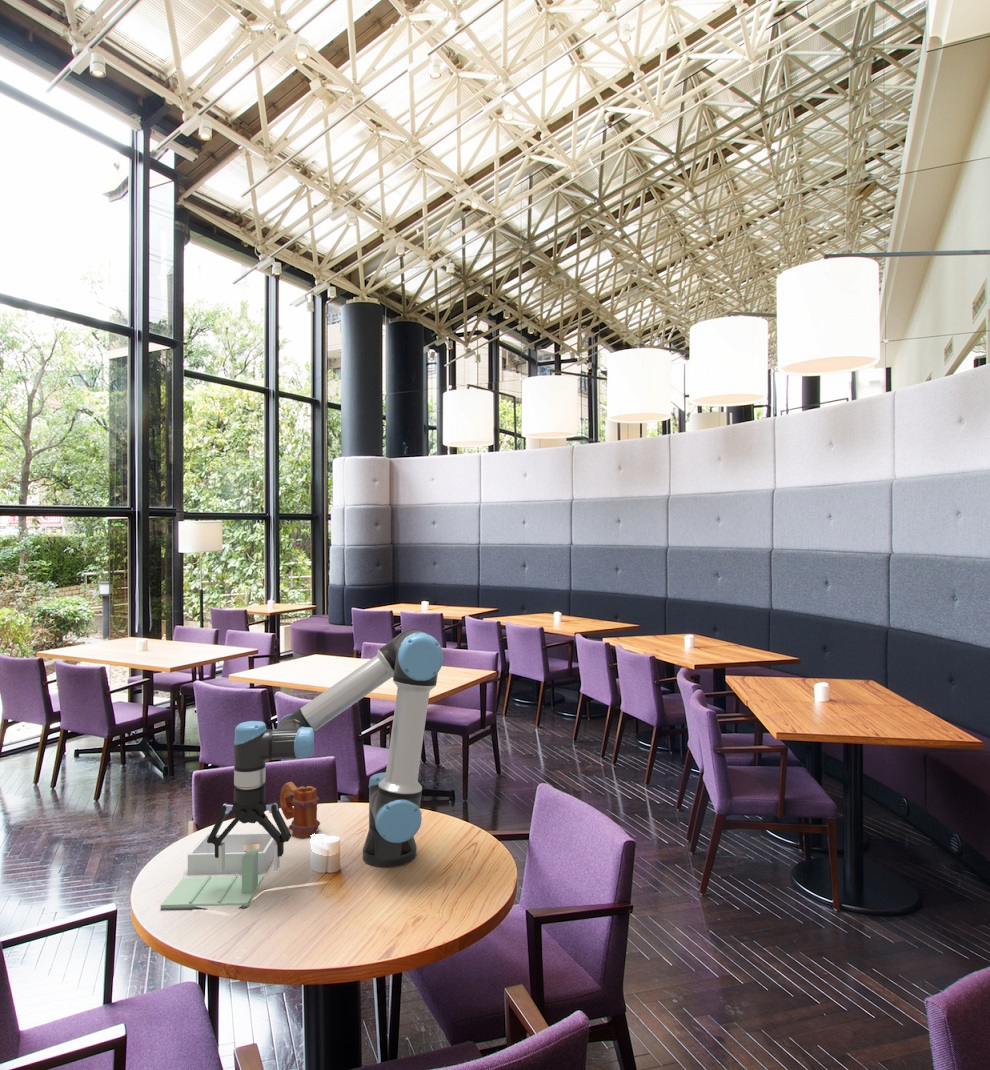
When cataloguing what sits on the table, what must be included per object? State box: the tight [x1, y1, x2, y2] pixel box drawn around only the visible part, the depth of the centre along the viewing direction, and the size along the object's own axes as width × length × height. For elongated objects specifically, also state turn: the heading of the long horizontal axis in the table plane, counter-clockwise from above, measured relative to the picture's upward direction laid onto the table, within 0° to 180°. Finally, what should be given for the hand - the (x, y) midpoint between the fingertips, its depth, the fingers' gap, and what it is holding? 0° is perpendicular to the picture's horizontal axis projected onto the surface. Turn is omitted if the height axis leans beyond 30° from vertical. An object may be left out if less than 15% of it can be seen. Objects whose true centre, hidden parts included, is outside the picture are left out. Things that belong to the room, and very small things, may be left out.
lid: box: [160, 850, 265, 909], centre depth 184 cm, size 21×15×10 cm
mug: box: [279, 781, 321, 839], centre depth 222 cm, size 15×8×15 cm, turn 58°
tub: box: [187, 832, 276, 876], centre depth 201 cm, size 20×14×6 cm
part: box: [244, 844, 259, 852], centre depth 203 cm, size 4×4×3 cm
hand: (249, 869), depth 184 cm, fingers open, 13 cm apart
